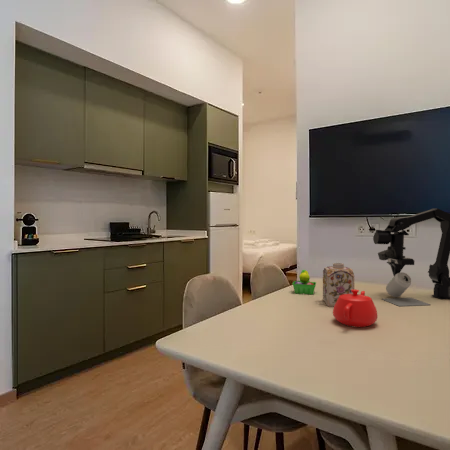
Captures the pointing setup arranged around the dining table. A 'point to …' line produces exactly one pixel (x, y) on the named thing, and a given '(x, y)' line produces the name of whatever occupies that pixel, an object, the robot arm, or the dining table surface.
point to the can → (398, 284)
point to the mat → (405, 302)
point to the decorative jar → (337, 282)
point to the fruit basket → (304, 284)
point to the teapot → (355, 309)
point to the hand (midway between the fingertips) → (395, 277)
